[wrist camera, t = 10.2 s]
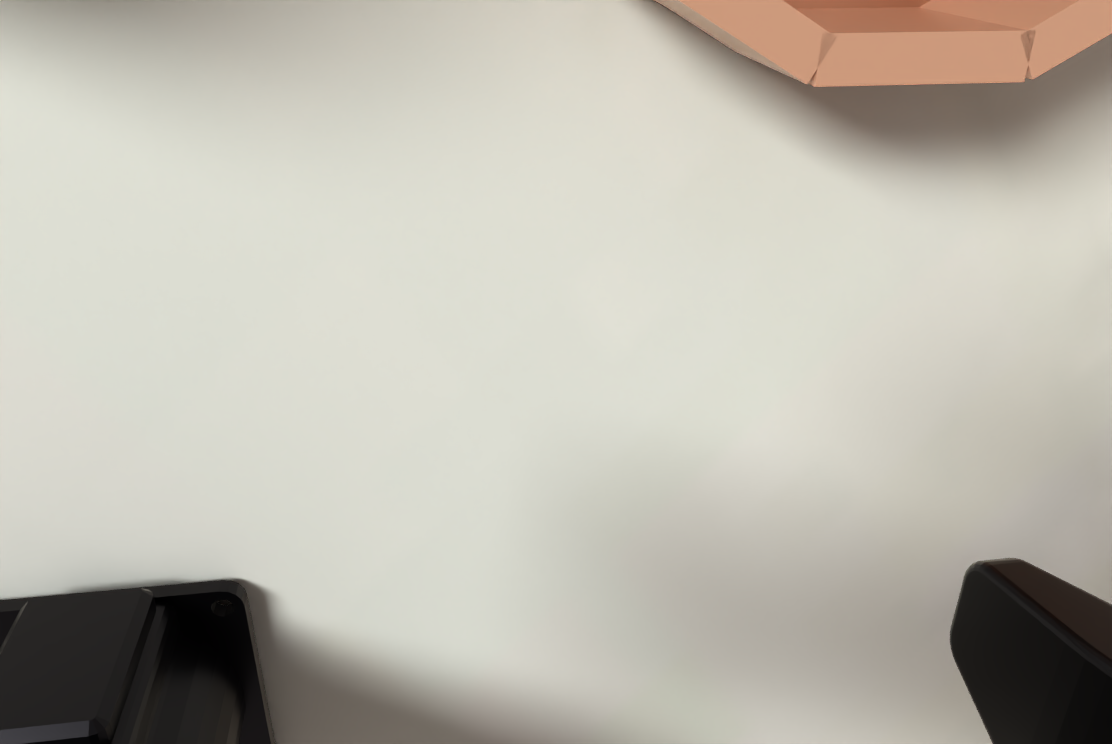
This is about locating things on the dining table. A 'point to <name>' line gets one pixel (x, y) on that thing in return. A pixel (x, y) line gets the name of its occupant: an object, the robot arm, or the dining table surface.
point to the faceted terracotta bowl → (902, 37)
